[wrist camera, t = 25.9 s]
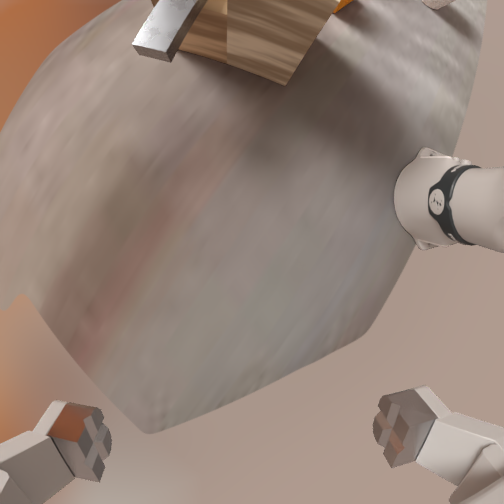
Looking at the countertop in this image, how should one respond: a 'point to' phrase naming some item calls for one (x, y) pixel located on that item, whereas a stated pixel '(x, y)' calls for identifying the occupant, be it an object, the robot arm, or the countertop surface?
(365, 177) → the countertop surface
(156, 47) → the block
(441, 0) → the white cup
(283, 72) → the step stand
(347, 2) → the bracket
